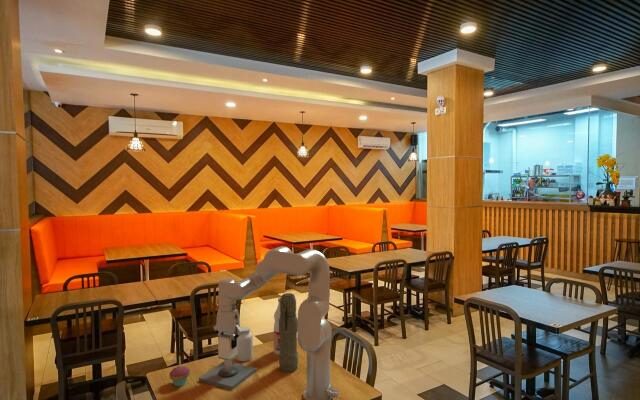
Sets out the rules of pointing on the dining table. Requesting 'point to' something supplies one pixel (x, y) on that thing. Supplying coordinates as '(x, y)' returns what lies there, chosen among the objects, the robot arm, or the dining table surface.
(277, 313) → the fruit juice
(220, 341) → the white rectangular block
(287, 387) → the dining table surface
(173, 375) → the cupcake
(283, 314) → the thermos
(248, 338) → the pill bottle
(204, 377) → the post base
